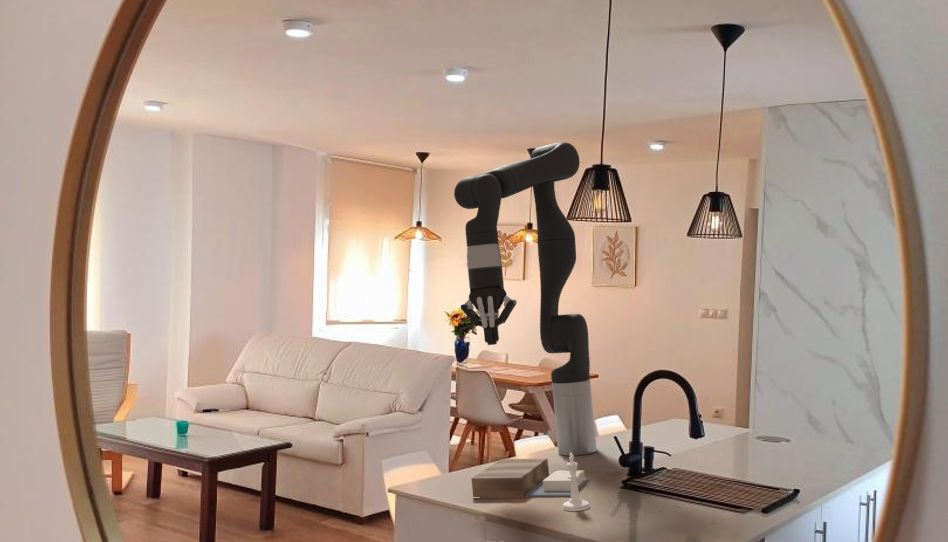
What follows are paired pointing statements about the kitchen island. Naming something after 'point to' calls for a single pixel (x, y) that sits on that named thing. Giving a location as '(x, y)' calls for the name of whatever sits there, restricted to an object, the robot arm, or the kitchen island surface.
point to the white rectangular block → (561, 481)
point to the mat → (540, 492)
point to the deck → (510, 478)
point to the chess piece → (574, 490)
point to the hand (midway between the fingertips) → (492, 344)
